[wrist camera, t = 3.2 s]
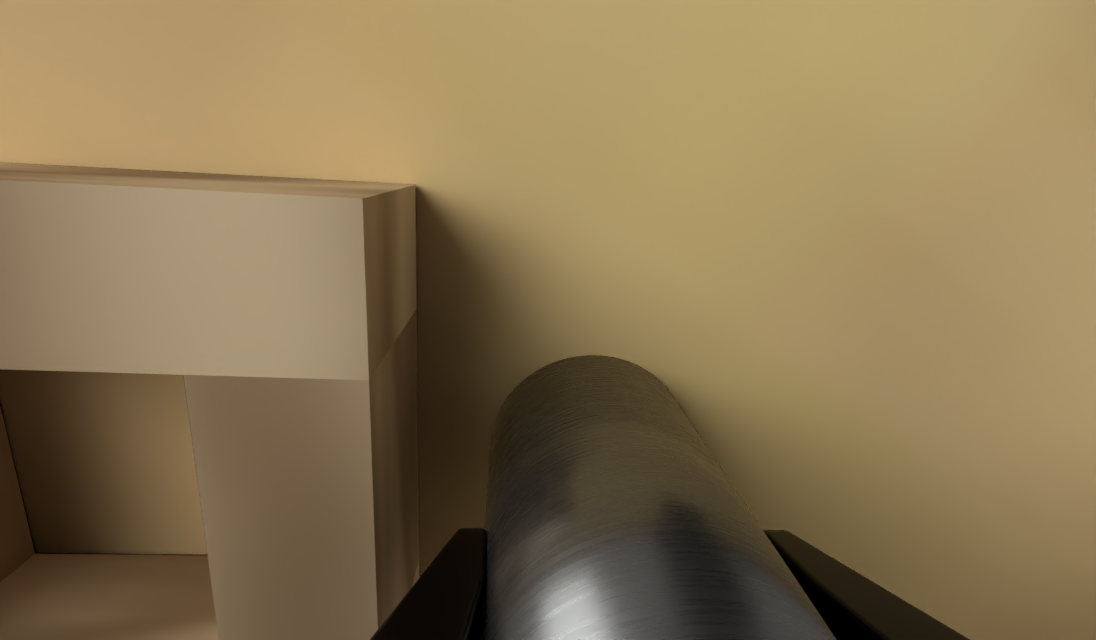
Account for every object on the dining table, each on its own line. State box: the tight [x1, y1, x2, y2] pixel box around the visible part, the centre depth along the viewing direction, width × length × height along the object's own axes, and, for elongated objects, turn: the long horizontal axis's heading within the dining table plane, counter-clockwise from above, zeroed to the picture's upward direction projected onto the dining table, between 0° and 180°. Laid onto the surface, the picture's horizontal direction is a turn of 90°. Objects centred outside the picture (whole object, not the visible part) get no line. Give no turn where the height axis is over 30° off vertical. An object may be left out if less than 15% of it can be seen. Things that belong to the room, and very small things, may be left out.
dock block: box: [0, 162, 419, 640], centre depth 9 cm, size 10×10×4 cm
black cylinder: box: [477, 356, 837, 640], centre depth 8 cm, size 4×4×8 cm
